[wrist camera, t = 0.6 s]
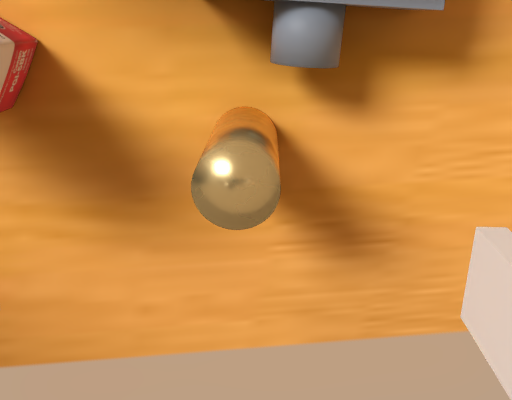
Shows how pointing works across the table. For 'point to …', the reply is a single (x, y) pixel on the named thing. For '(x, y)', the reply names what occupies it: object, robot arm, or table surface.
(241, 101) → the table surface
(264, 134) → the brass cylinder
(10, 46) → the ink box
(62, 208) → the table surface
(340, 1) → the valve body
